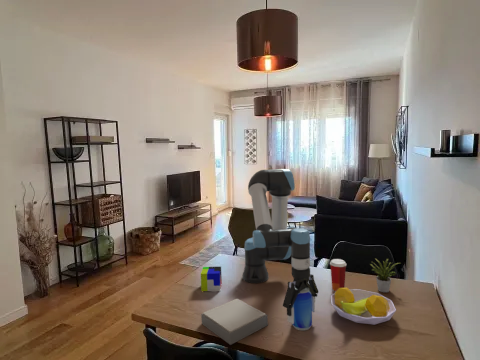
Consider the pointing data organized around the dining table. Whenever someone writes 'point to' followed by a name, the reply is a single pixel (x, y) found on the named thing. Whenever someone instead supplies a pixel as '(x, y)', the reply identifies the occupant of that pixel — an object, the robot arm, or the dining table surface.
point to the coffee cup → (338, 273)
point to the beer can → (303, 310)
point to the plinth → (234, 320)
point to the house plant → (383, 276)
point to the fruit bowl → (362, 306)
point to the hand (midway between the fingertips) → (301, 316)
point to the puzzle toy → (211, 279)
